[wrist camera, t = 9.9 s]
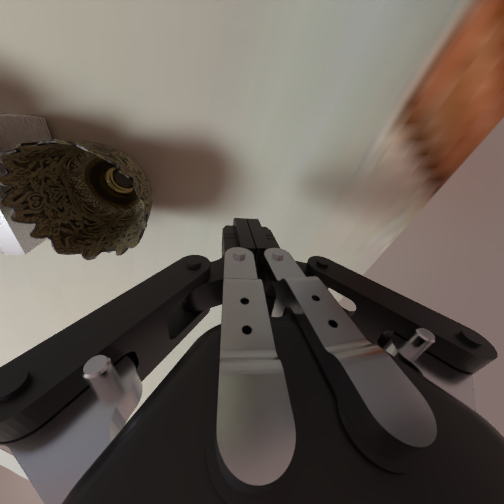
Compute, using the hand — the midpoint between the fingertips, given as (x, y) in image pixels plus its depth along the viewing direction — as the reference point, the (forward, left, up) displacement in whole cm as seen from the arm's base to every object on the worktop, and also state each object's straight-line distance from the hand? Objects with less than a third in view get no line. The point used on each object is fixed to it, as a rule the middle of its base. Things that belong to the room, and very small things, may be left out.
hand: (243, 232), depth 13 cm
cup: (+10, 0, -10) cm, 14 cm away
